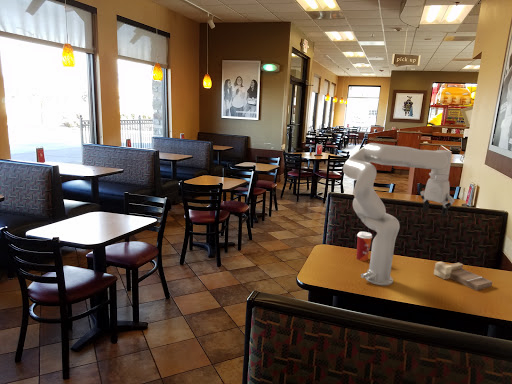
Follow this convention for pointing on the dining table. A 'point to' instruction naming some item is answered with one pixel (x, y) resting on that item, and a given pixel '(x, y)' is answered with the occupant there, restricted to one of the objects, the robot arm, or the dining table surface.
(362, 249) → the paper cup
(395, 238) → the robot arm
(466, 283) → the walnut board
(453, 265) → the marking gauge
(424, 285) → the dining table surface
